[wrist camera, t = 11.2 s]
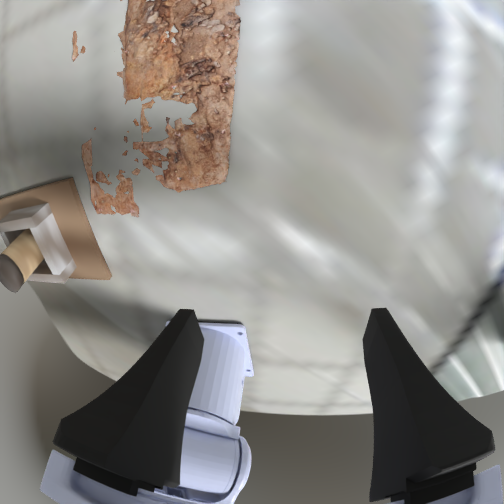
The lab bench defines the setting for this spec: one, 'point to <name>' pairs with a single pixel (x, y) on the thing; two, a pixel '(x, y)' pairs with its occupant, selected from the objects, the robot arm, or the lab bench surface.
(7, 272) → the wood peg
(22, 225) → the holder board
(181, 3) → the bark
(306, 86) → the lab bench surface
